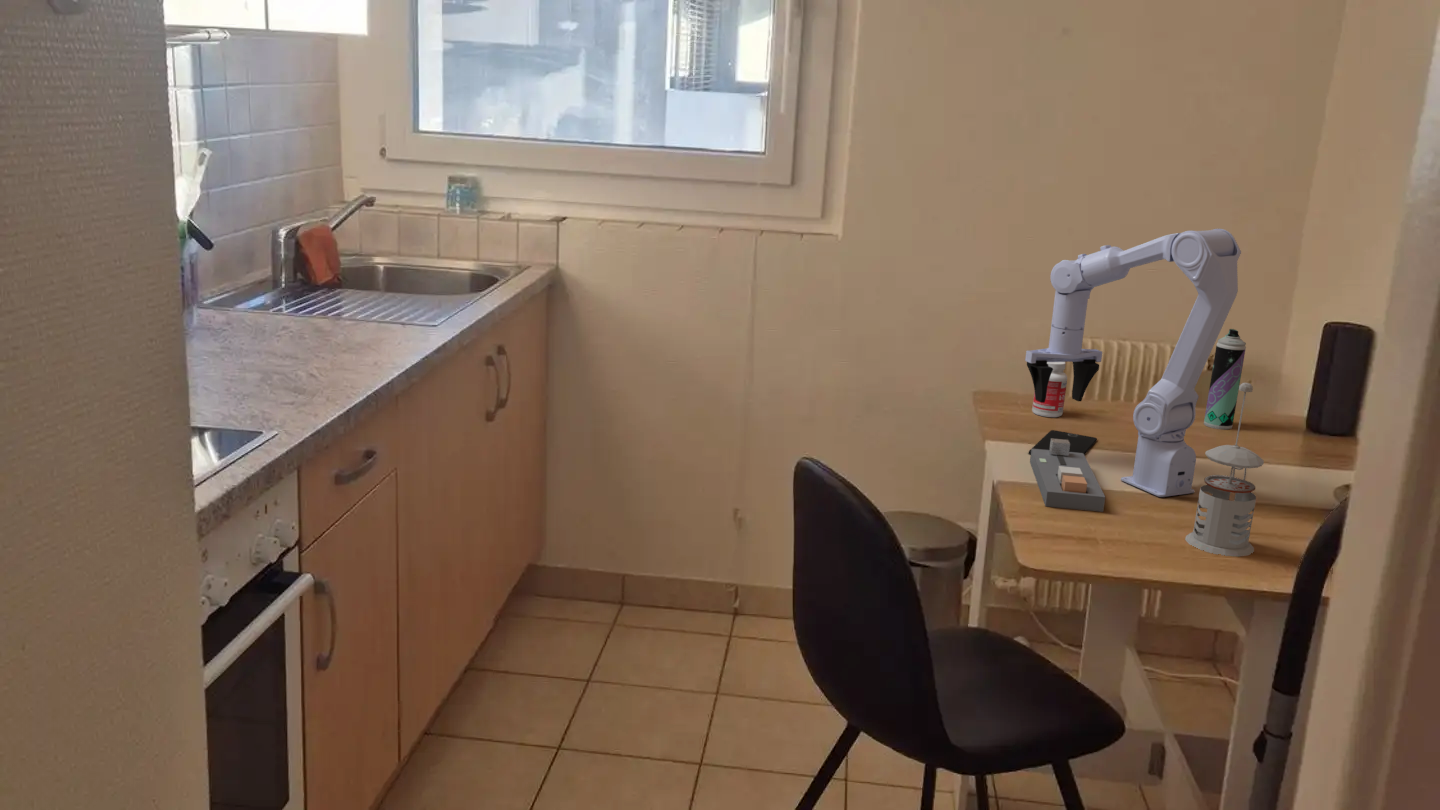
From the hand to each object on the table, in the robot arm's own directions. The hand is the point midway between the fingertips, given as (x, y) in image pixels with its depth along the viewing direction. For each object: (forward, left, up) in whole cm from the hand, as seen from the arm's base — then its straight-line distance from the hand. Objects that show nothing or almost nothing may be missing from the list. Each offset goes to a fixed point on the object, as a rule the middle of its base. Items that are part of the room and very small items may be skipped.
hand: (1058, 400), depth 227 cm
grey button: (-19, +13, -8) cm, 25 cm away
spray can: (+5, -48, -10) cm, 49 cm away
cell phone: (+2, -5, -11) cm, 12 cm away
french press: (-45, +5, -10) cm, 46 cm away
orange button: (-23, +16, -8) cm, 29 cm away
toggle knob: (-7, +5, -7) cm, 12 cm away
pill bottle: (+22, -18, -10) cm, 30 cm away
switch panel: (-16, +11, -10) cm, 22 cm away
